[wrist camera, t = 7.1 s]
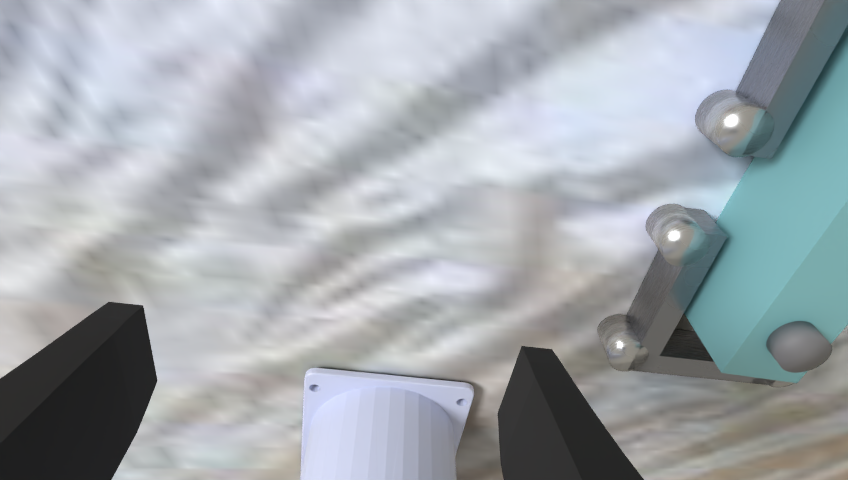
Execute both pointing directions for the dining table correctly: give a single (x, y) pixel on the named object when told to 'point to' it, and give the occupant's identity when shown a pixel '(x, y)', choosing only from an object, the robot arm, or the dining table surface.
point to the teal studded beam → (785, 247)
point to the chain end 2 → (774, 79)
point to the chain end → (670, 302)
